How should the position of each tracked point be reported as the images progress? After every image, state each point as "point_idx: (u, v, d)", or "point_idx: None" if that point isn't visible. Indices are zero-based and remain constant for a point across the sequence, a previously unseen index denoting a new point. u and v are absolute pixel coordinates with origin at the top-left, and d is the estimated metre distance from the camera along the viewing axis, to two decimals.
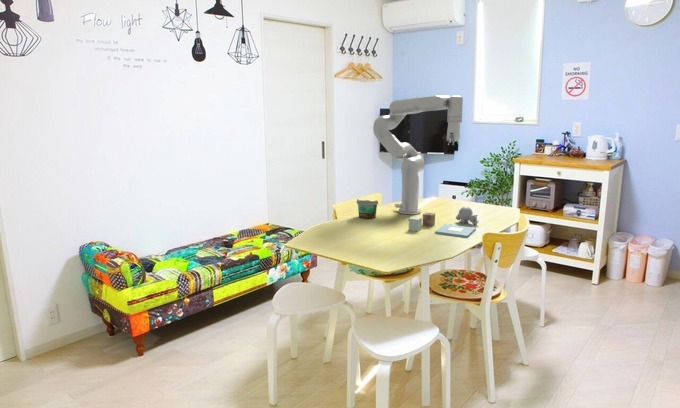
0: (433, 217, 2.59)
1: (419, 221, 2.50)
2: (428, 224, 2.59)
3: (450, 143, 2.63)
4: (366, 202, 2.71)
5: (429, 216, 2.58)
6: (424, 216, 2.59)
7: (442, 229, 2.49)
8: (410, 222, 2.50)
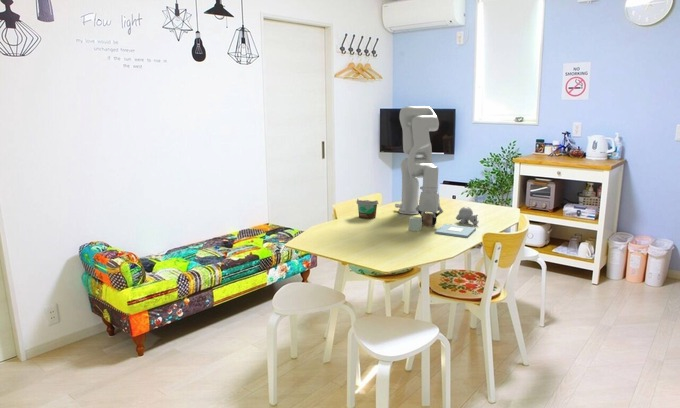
0: None
1: (419, 221, 2.50)
2: (428, 224, 2.59)
3: None
4: (366, 202, 2.71)
5: (429, 216, 2.58)
6: (424, 216, 2.59)
7: (442, 229, 2.49)
8: (410, 222, 2.50)
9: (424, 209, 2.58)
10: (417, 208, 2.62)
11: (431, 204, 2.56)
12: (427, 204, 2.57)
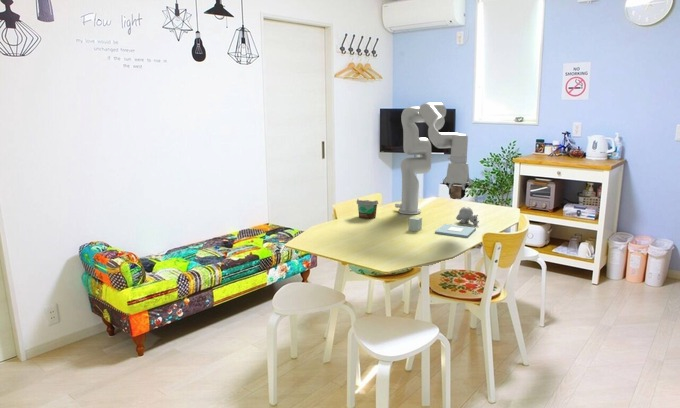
0: None
1: (419, 221, 2.50)
2: (456, 196, 2.43)
3: (467, 187, 2.42)
4: (366, 202, 2.71)
5: (458, 188, 2.42)
6: (452, 188, 2.43)
7: (442, 229, 2.49)
8: (410, 222, 2.50)
9: (452, 181, 2.42)
10: (444, 180, 2.46)
11: (460, 175, 2.40)
12: (455, 175, 2.41)
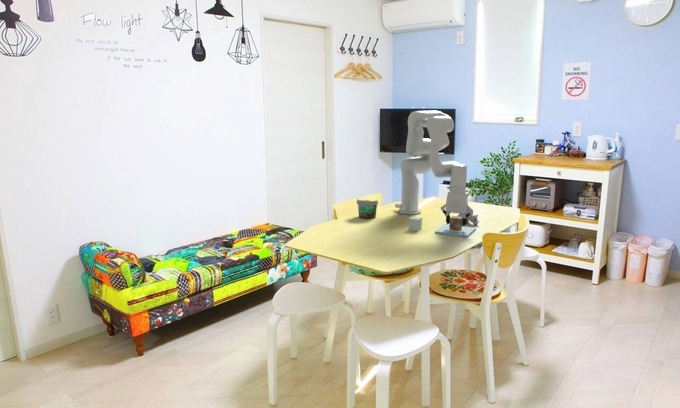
0: (461, 221, 2.46)
1: (419, 221, 2.50)
2: (455, 228, 2.46)
3: None
4: (366, 202, 2.71)
5: (457, 220, 2.45)
6: (451, 220, 2.46)
7: (442, 229, 2.49)
8: (410, 222, 2.50)
9: (451, 210, 2.45)
10: (442, 207, 2.49)
11: (459, 205, 2.43)
12: (455, 204, 2.43)
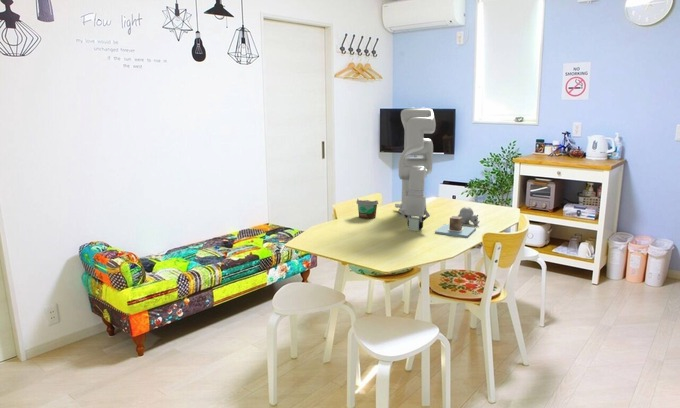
0: (461, 221, 2.46)
1: (419, 221, 2.50)
2: (455, 228, 2.46)
3: (424, 219, 2.49)
4: (366, 202, 2.71)
5: (457, 220, 2.45)
6: (451, 220, 2.46)
7: (442, 229, 2.49)
8: (410, 222, 2.50)
9: (410, 213, 2.49)
10: (403, 212, 2.53)
11: (417, 208, 2.47)
12: (413, 207, 2.48)
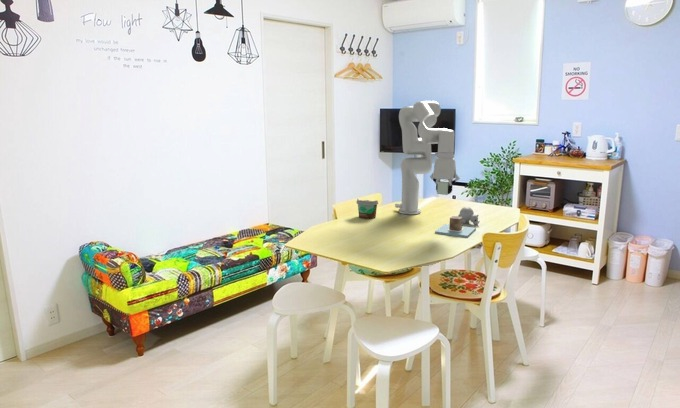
0: (461, 221, 2.46)
1: (448, 184, 2.43)
2: (455, 228, 2.46)
3: None
4: (366, 202, 2.71)
5: (457, 220, 2.45)
6: (451, 220, 2.46)
7: (442, 229, 2.49)
8: (439, 185, 2.44)
9: (439, 176, 2.42)
10: (432, 176, 2.47)
11: (447, 171, 2.40)
12: (442, 170, 2.41)
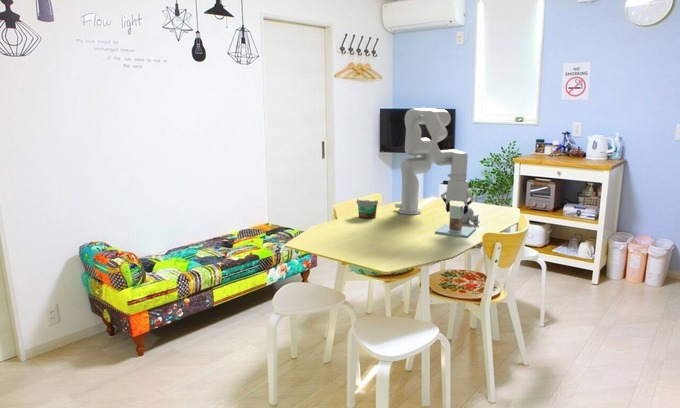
0: (461, 221, 2.46)
1: (461, 209, 2.44)
2: (455, 228, 2.46)
3: (470, 203, 2.43)
4: (366, 202, 2.71)
5: (457, 220, 2.45)
6: (451, 220, 2.46)
7: (442, 229, 2.49)
8: (451, 210, 2.45)
9: (452, 198, 2.44)
10: (442, 195, 2.48)
11: (460, 193, 2.41)
12: (455, 192, 2.42)
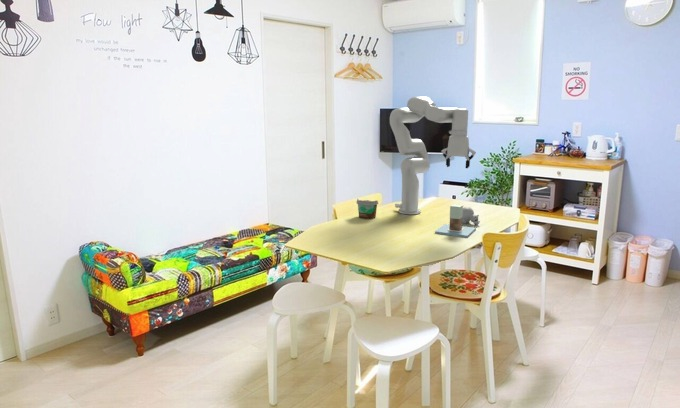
0: (461, 221, 2.46)
1: (461, 209, 2.44)
2: (455, 228, 2.46)
3: (471, 158, 2.50)
4: (366, 202, 2.71)
5: (457, 220, 2.45)
6: (451, 220, 2.46)
7: (442, 229, 2.49)
8: (451, 210, 2.45)
9: (453, 153, 2.51)
10: (443, 150, 2.56)
11: (461, 148, 2.49)
12: (456, 148, 2.50)
